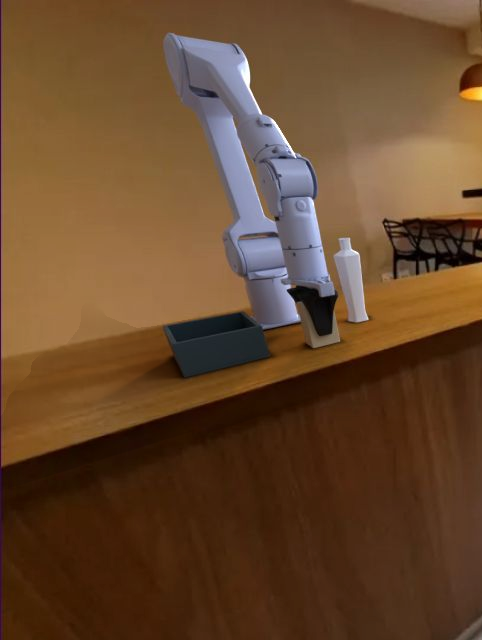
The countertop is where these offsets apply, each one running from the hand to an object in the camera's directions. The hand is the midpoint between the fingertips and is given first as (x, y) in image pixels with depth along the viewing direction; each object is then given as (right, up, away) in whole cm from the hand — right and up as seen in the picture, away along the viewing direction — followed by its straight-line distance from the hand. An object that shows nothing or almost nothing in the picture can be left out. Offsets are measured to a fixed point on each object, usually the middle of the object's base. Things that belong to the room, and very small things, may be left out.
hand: (320, 331), depth 73 cm
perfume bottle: (+2, +4, +12) cm, 13 cm away
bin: (-14, -4, -4) cm, 15 cm away
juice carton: (0, -2, +1) cm, 2 cm away
